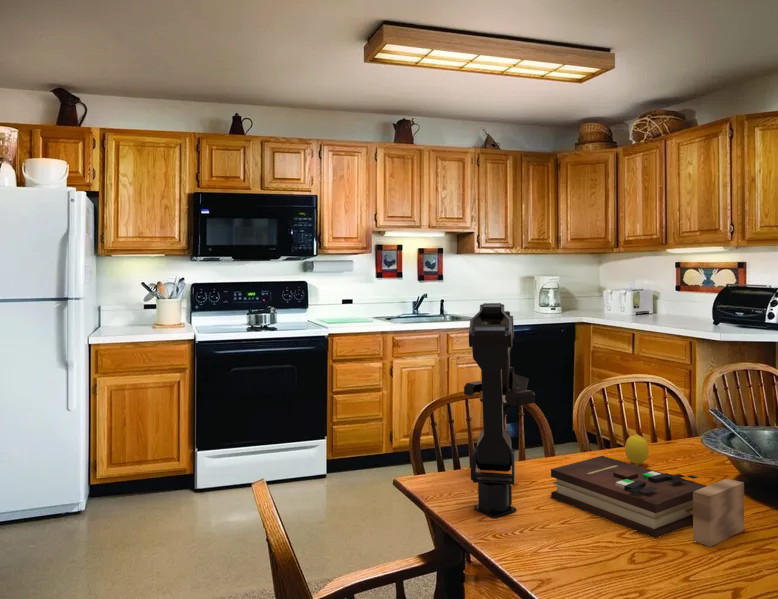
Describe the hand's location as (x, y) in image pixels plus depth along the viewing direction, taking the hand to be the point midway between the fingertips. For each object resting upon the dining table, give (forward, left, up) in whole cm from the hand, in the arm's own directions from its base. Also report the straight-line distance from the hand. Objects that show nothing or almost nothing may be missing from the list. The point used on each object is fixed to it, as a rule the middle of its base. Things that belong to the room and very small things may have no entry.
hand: (498, 428), depth 145 cm
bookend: (+9, -48, -12) cm, 50 cm away
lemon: (+34, -14, -12) cm, 39 cm away
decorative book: (+8, -29, -13) cm, 33 cm away
